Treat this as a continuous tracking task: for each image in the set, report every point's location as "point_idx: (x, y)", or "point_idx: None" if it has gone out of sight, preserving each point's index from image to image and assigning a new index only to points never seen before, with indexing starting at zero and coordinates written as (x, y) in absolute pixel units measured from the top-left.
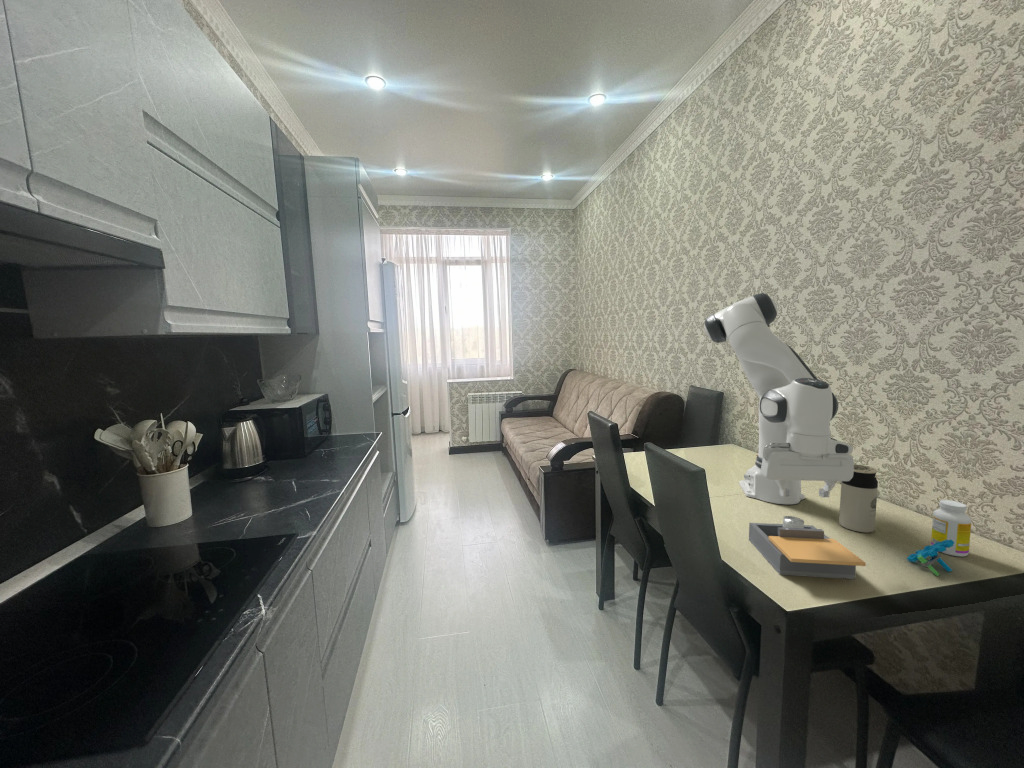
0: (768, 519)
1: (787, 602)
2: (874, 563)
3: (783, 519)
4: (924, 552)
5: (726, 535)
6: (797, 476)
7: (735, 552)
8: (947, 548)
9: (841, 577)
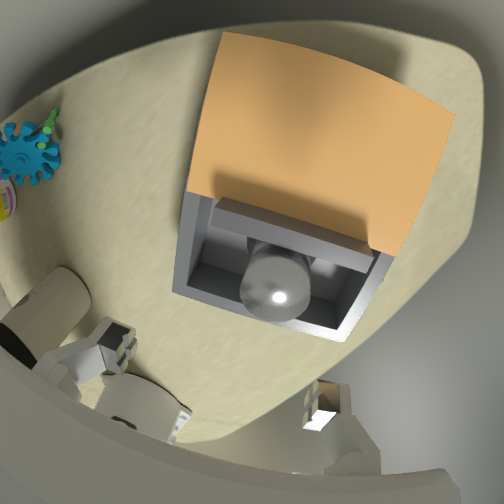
0: (212, 359)
1: (471, 66)
2: (120, 157)
3: (304, 308)
4: (31, 148)
5: (371, 331)
6: (285, 501)
7: (422, 265)
8: (4, 186)
9: None
